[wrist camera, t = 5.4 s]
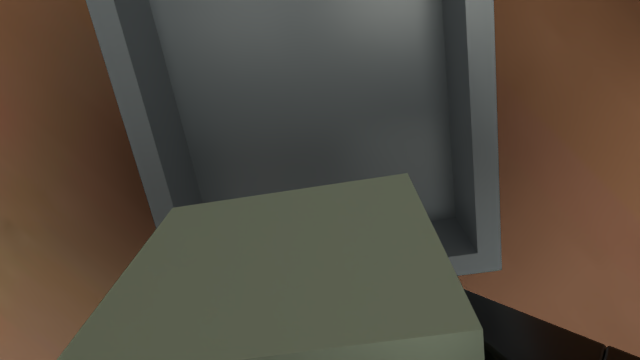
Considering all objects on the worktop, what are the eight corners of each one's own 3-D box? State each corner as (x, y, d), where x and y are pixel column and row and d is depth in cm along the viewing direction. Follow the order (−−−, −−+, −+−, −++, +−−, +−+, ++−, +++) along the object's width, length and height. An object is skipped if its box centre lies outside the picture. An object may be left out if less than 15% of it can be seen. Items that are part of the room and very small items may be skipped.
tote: (472, 226, 20) (501, 269, 17) (204, 262, 21) (181, 311, 17) (446, -268, 14) (483, -349, 11) (78, -192, 15) (9, -247, 12)
